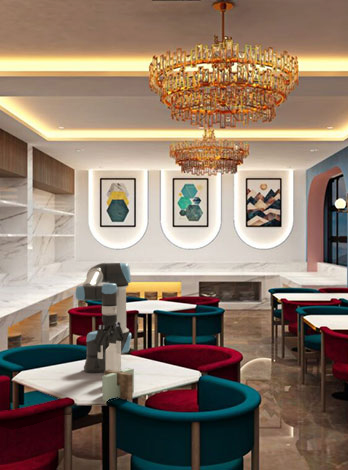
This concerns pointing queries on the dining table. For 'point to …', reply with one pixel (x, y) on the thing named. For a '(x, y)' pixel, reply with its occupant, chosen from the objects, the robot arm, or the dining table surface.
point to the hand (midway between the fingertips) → (109, 356)
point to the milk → (113, 358)
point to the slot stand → (113, 385)
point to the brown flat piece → (123, 383)
